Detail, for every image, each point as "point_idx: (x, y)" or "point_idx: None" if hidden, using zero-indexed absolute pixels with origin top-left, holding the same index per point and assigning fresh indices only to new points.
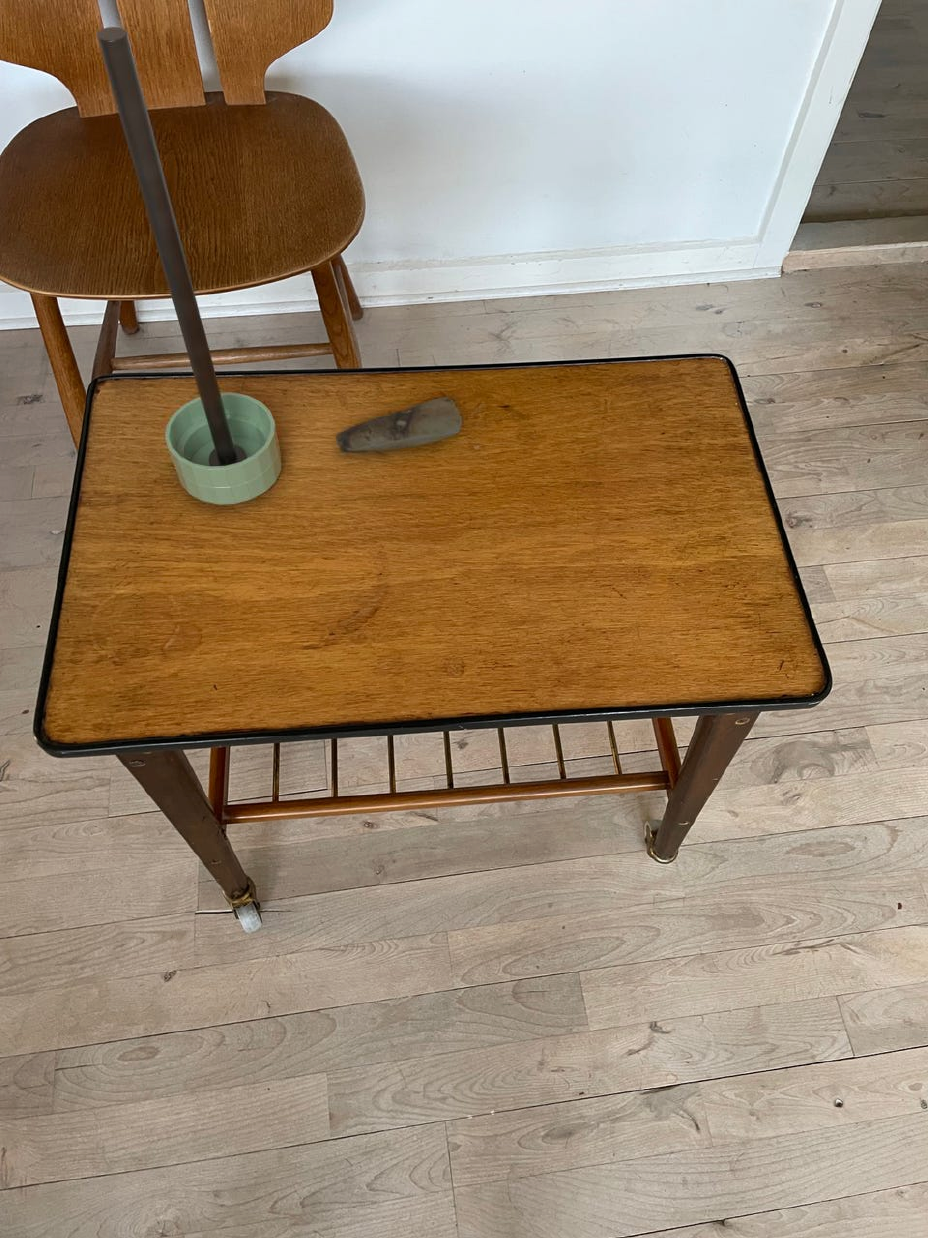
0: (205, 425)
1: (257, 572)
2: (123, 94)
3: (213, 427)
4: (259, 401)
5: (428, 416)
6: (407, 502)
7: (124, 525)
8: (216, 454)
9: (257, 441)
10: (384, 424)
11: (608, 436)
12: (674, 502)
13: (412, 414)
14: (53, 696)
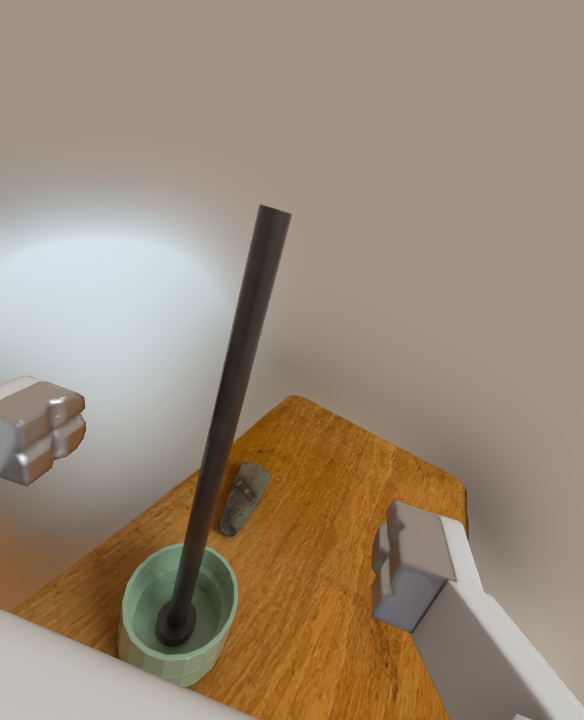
0: (135, 608)
1: (301, 687)
2: (274, 271)
3: (189, 594)
4: (181, 543)
5: (253, 477)
6: (295, 535)
7: None
8: (166, 625)
9: (172, 582)
10: (241, 499)
11: (306, 438)
12: (356, 449)
13: (245, 482)
14: None
